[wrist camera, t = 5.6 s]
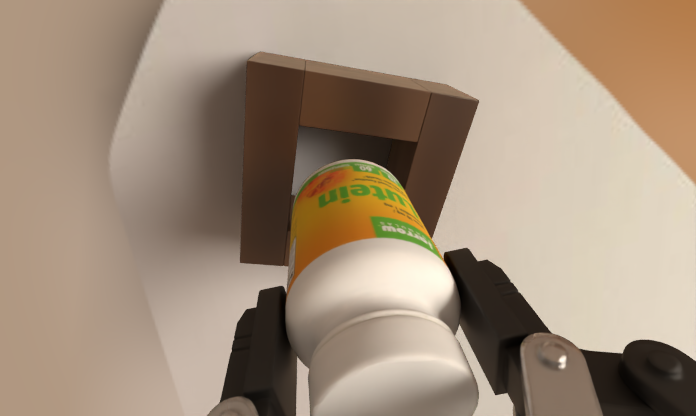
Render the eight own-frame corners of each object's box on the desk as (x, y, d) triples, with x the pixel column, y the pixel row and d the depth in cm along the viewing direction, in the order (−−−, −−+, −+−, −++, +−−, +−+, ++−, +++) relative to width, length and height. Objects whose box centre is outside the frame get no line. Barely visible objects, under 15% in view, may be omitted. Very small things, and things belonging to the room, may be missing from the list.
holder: (251, 222, 24) (239, 263, 20) (259, 51, 19) (246, 60, 15) (402, 237, 26) (419, 276, 22) (447, 84, 21) (480, 100, 17)
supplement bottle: (412, 156, 15) (544, 326, 7) (397, 254, 18) (480, 464, 10) (290, 155, 15) (271, 341, 6) (293, 256, 17) (282, 485, 9)
